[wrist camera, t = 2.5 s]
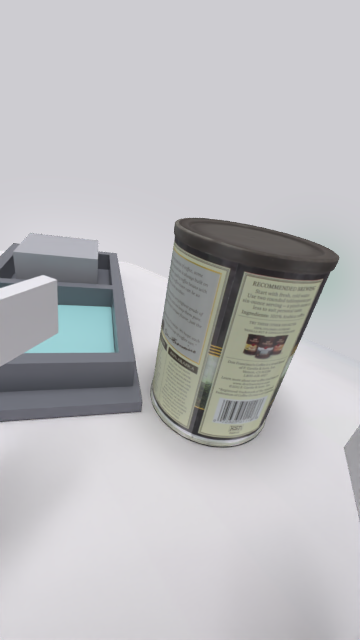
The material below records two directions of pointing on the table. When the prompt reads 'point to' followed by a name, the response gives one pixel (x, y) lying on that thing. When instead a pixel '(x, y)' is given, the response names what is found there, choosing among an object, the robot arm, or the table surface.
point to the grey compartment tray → (72, 335)
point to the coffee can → (232, 325)
